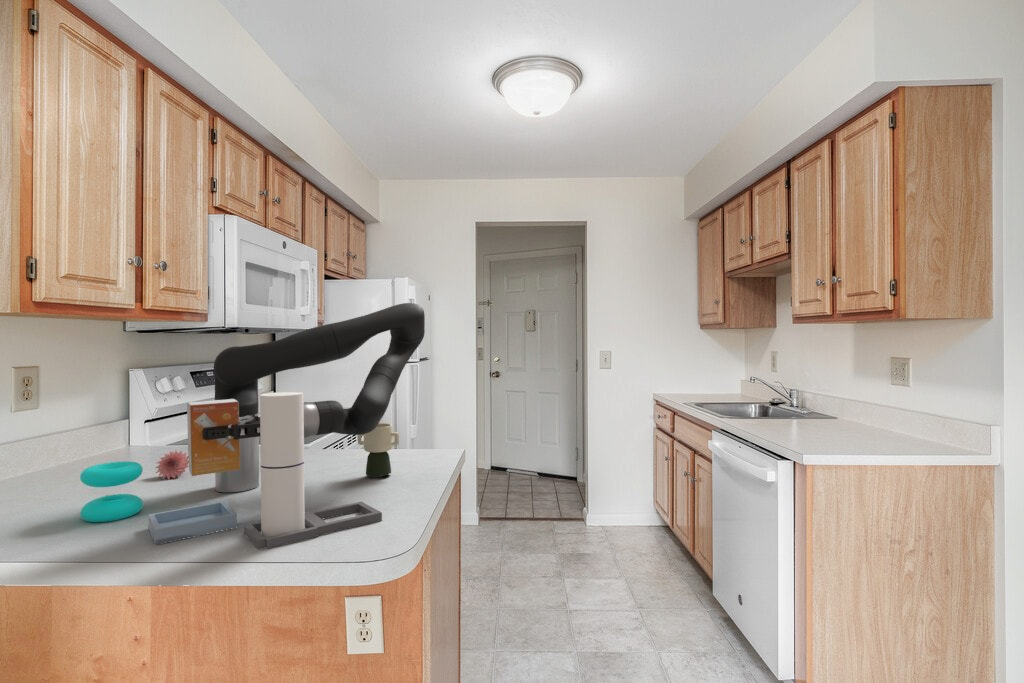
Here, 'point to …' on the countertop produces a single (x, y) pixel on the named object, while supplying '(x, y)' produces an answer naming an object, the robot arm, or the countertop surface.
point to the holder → (315, 525)
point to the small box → (216, 451)
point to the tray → (191, 522)
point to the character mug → (379, 449)
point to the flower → (172, 464)
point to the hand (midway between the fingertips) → (199, 431)
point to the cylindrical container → (282, 463)
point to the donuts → (112, 504)
